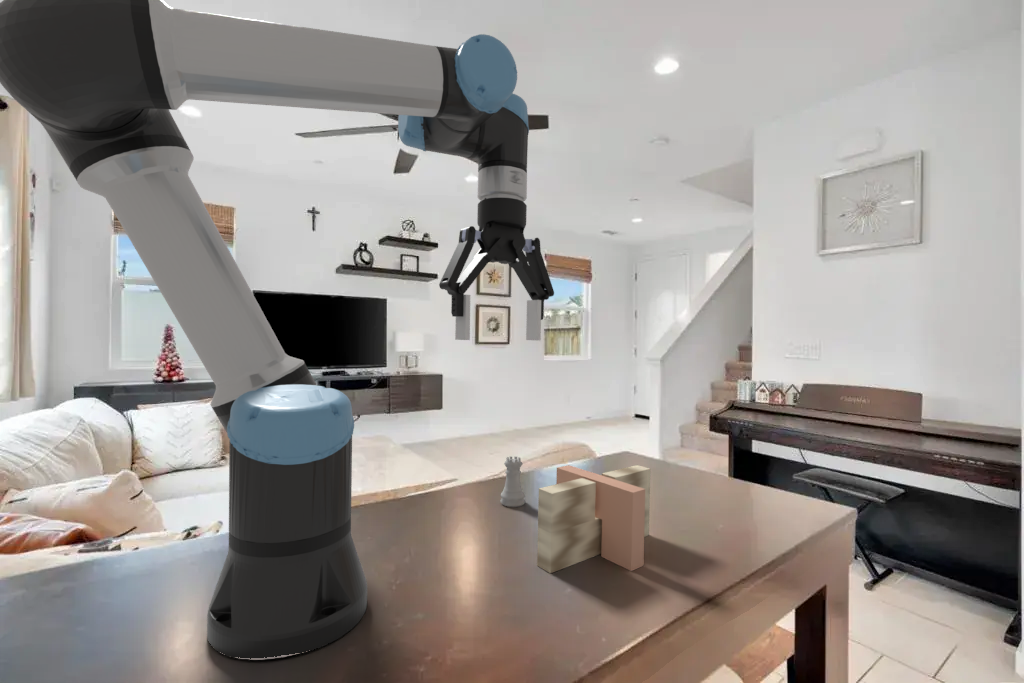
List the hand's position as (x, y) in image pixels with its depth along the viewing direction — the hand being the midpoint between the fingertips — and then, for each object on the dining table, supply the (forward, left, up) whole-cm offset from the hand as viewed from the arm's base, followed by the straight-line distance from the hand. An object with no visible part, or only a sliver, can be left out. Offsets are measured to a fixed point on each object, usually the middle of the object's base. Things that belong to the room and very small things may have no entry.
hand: (499, 340), depth 77 cm
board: (+13, -10, -29) cm, 33 cm away
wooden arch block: (+13, -10, -29) cm, 33 cm away
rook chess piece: (+4, +9, -29) cm, 31 cm away
